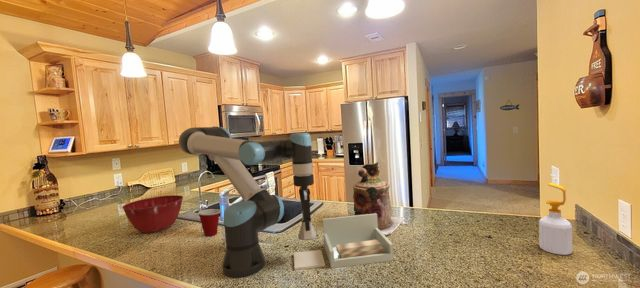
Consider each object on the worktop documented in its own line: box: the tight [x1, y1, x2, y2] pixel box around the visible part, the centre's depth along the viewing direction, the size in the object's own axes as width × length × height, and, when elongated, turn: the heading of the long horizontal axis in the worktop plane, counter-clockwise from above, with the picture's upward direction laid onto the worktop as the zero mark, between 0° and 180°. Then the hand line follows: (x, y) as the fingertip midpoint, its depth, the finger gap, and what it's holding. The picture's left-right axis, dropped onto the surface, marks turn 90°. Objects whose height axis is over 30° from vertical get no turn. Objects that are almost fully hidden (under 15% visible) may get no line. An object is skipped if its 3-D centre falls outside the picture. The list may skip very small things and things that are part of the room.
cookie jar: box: [352, 161, 405, 236], centre depth 133 cm, size 25×25×32 cm
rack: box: [322, 213, 395, 269], centre depth 105 cm, size 23×18×12 cm
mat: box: [293, 249, 326, 271], centre depth 102 cm, size 11×12×1 cm
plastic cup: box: [197, 208, 222, 237], centre depth 135 cm, size 11×11×12 cm
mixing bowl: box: [121, 194, 184, 234], centre depth 149 cm, size 28×28×16 cm
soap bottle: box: [538, 182, 573, 256], centre depth 98 cm, size 9×9×25 cm
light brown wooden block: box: [335, 239, 384, 259], centre depth 100 cm, size 17×4×6 cm, turn 100°
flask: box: [297, 211, 318, 241], centre depth 101 cm, size 7×7×10 cm
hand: (307, 234), depth 102 cm, fingers closed on flask, 6 cm apart
